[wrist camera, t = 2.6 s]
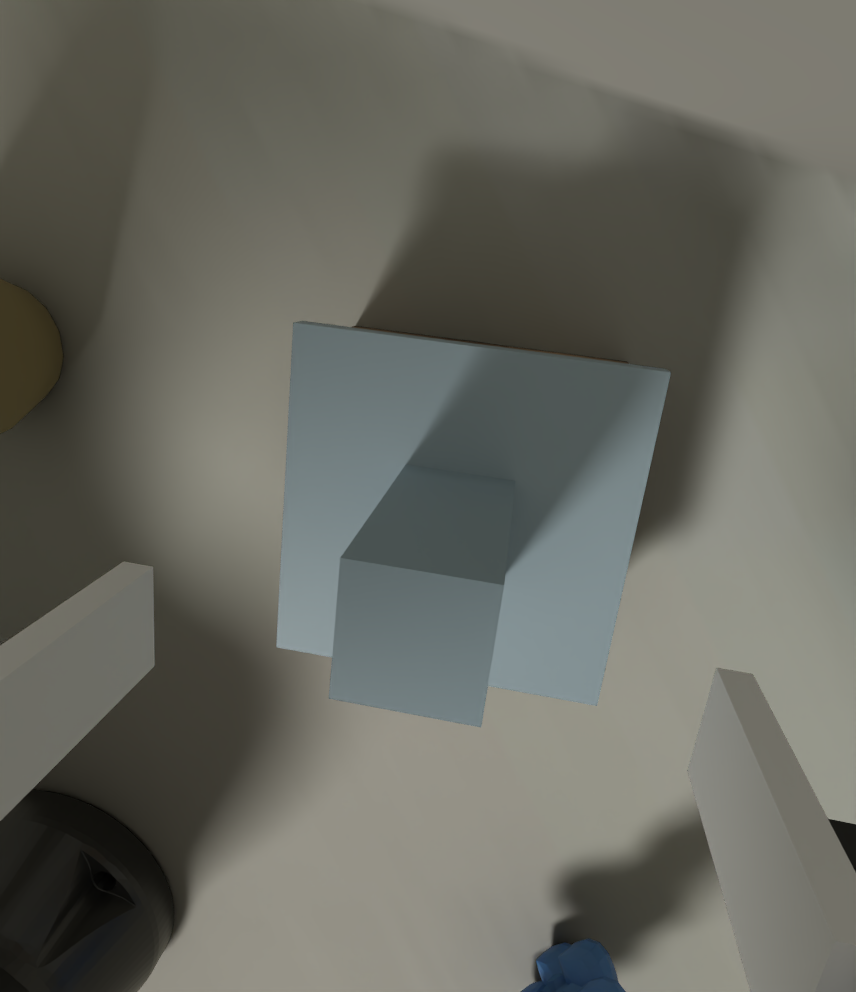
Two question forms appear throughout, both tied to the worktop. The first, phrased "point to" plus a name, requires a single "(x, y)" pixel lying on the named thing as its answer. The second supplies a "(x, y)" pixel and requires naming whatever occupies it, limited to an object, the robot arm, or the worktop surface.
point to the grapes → (576, 969)
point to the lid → (458, 516)
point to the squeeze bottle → (25, 354)
